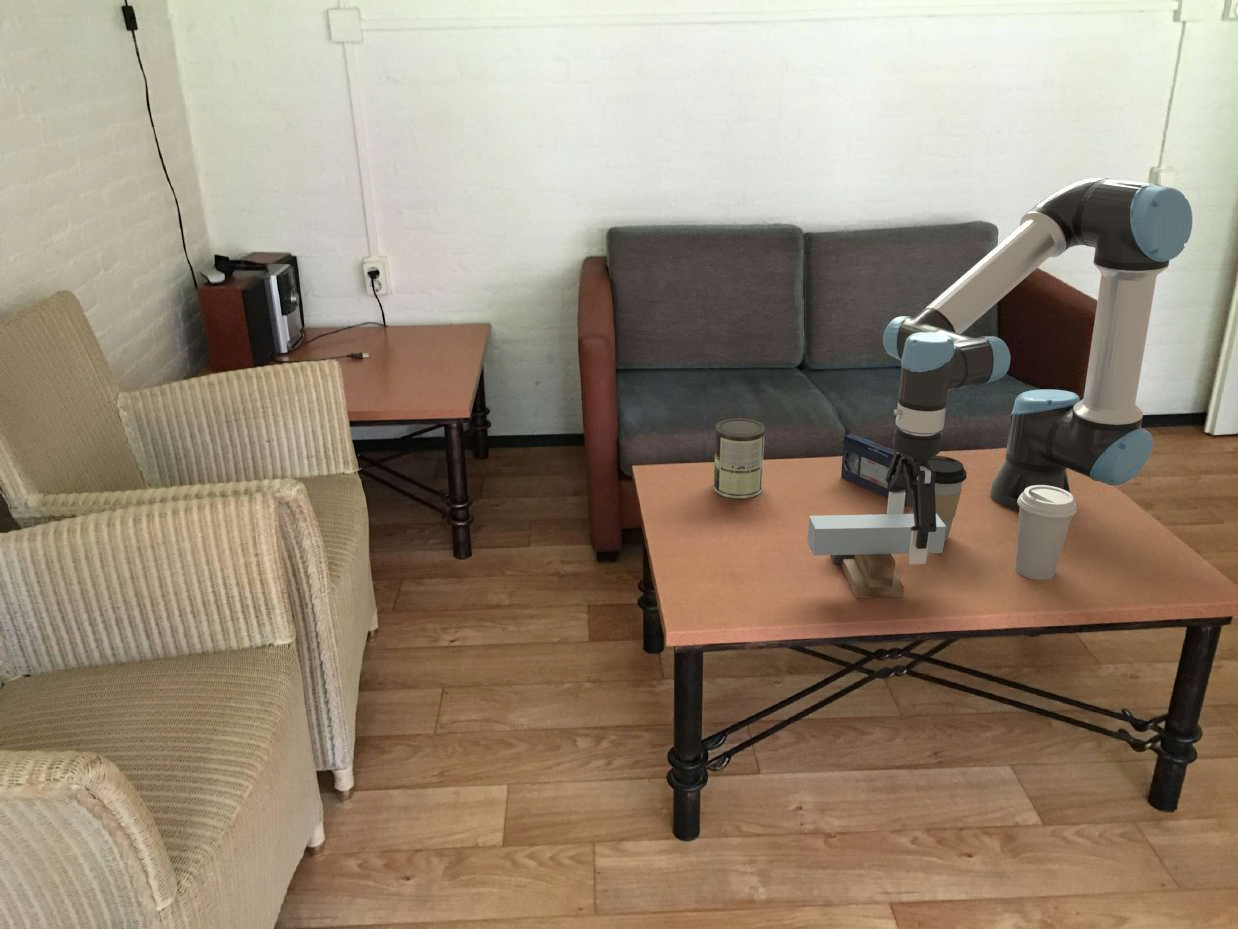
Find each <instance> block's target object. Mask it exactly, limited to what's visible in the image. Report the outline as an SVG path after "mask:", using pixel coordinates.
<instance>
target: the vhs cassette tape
mask: <svg viewBox="0 0 1238 929" xmlns="http://www.w3.org/2000/svg"><path fill="white" fill-rule="evenodd" d="M894 452H895V450H894V448H893V449H892V448H890V447H887V446H884V445H882V444H879V443H877V442H874V441H872V440H870V439H866V438H864V437H861V436H859V435H857V434H854V433H850V434H849V433H848V434H845V435H844V436H843V447H842V458H841V459H842V461H841V470H840V471H841V474H840V477H841V478H842V479H843V480H846V481H848V482H850V483H852V484H854V485H857V486H858V487H860V488H863V489H866V490H867V491H870V492H872V493H874V494H876V495H878V496H881V497H883V498H885V499H888V497H889V492H891V490H889V488H888V485H889V483H886V476H887V473H888V470H889V467H890V464H891V461H892V458H893V455H894ZM893 476H894V475H893ZM907 489H908V488H907ZM901 492H905V493H906V495H905V503H904V508H905V507H909V506H911V505H912V496H911V491H910V490H901ZM912 506H913V505H912Z"/></svg>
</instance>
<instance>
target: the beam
mask: <svg viewBox="0 0 1238 929" xmlns="http://www.w3.org/2000/svg"><path fill="white" fill-rule="evenodd" d="M913 526H915V523H914V514H913V513H903V514H887V513H886V514H884V513H883V514H882V513H881V514H832V515H830V514H829V515H809V517H808V528H807V541H806V542H807V544H808V546H809V549H810V551H811V553H812V555H813V556H830V555H859V554H891V555H898V554H900V555H905V554H906V555H907V554H908V555H909V550H910V542H911V534H912V531H911V527H913ZM936 528H937V529H936V532H930V535H929V542H928V550H927V554H943V552H944V551H943V550H944V545H945V541H944V539H945V531H946V526H945V524H944V523H943V522H942V520H941V519H940V517H939V516H938V515H937V513H936Z"/></svg>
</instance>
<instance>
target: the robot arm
mask: <svg viewBox="0 0 1238 929" xmlns="http://www.w3.org/2000/svg"><path fill="white" fill-rule="evenodd" d="M1192 229H1193V211H1192V207H1191V205H1190V202H1189V200H1188V199H1187V198H1186V197H1185V195H1184V193H1183V192H1181V191H1180V190H1178V189H1176V188H1173V187H1168V186H1165V185H1164V186H1163V185H1162V184H1157V183H1150V182H1141V181H1140V182H1139V181H1132V180H1130V181H1129V180H1122V179H1113V178H1112V179H1111V178H1106V177H1093V178H1086V179H1082V180H1079V181H1076V182H1074V183H1071V184H1069V185H1067V186H1065V187H1063V188H1061V189H1059V190H1057V191H1055V192H1054V193H1052V194H1050V195H1048V196H1047V197H1046V198H1044V199H1042V200H1041V201H1040V202H1038V203H1037V204H1036V205H1034V206H1033V207H1032V208H1030V210H1029V211H1027V212H1026V213H1025V214H1024V215H1023V216H1022V217H1021V219H1020V222H1019V227H1017V228H1016V229H1015V230H1014V231H1013V232H1012V233H1011V234H1009V235H1008V236H1007V237H1006V238H1004V240H1002V241H1001V242H1000V243H999V244H998V245H996V246H995V247H994V248H993V249H992V250H991V251H990V252H988V253H987V254H986V255H985V256H984V257H982V258H981V259H980V260H979V261H978V262H977V263H976V264H975V265H974V266H972V267H971V268H970V269H969V270H968V271H966V272H965V273H964V274H963V275H962V276H960V278H958V279H957V280H956V281H955V282H953V284H951V285H950V286H949V287H948V288H947V289H946V290H944V291H943V292H942V293H941V294H940V295H938V297H936V298H935V299H933V301H932V302H931V303H929V304H928V305H927V306H926V307H925V308H924V309H923V310H921V311H920V312H919V313H917V315H915V317H913V316H906V315H905V316H904V315H901V316H898V317H895V318H893V319H891V321H890V322H889V323H888V324H887V326H886V328H885V329H884V332H883V337H882V344H883V347H884V350H885V352H886V353H887V354H888V355H889V356H890V357H893V358H895V359H896V360H899V361H900V376H899V378H900V379H899V388H898V399H897V400H898V401H897V409H894V410H893V414H894V416H896V418H895V425H896V427H895V428H894V432H893V440H892V447H893V450H895V452H894V455H893V458H892V461H891V464H890V467H889V470H888V473H887V476H886V483H889V485H888V488H889V490H891V492H889V497H888V500H887V507H886V514H904V509H905V506H904V503H905V495H906V493H905V492H901V490H910V491H911V496H912V511H913V513H912V514H914V523H915V526H913V527H911V531H912V534H911V542H910V550H909V554H908V557H907V558H908V560H907V563H908V564H909V565H926V564H927V556H928V553H927V550H928V542H929V535H930V532H936V529H937V528H936V503H935V477H936V472H935V470H930V466H929V464H928V460H929V459H930V458H931V457H933V456H938V454H940V452H941V447H942V439H943V432H942V430H944V427H945V419H946V413H947V403H948V397H949V396H948V395H949V391H954V390H957V389H963V388H967V387H972V386H978V385H987V384H988V383H990V382H991V383H992V382H995V381H998V380H1000V379H1002V378H1003V377H1005V376H1006V374H1007V373H1008V371H1009V368H1010V365H1011V353H1010V350H1009V347H1008V346H1007V343H1006V342H1005V341H1004V340H1003V339H1001V338H1000V337H997V336H993V335H991V336H987V335H986V336H985V335H982V336H979V337H971V336H969V335H968V336H967V335H965V334H962V333H964V332H965V331H966V330H967V329H968V328H969V327H970V326H972V325H973V324H974V323H975V322H976V321H977V320H979V319H980V318H981V317H982V316H983V315H984V314H986V313H987V312H988V311H989V310H990V309H991V308H992V307H994V306H995V305H996V304H997V303H998V302H999V301H1001V300H1002V299H1003V298H1005V296H1006V295H1007V294H1009V293H1010V292H1012V290H1013V289H1014V288H1015V287H1017V286H1018V285H1019V284H1020V283H1021V282H1023V281H1024V279H1026V278H1027V277H1028V276H1030V274H1031V273H1032V272H1034V271H1035V270H1036V269H1038V267H1040V266H1041V265H1042V264H1043V263H1044V262H1045V261H1047V260H1048V259H1049V258H1057V257H1060V256H1061V255H1063V253H1064V252H1066V251H1067V250H1069V249H1070V248H1074V247H1075V246H1076V247H1077V246H1085V247H1090V248H1094V256H1093V265H1094V266H1095V268H1097V270H1098V271H1099V272H1100V273H1101V276H1100V282H1099V288H1098V296H1097V304H1096V310H1095V317H1094V324H1093V330H1092V331H1093V332H1092V336H1091V337H1092V338H1091V345H1090V351H1089V358H1088V365H1087V372H1086V380H1085V385H1084V386H1085V387H1084V393H1083V398H1082V399H1080V396H1079V395H1078V393H1075V392H1073V391H1068V390H1061V389H1051V388H1050V389H1033V390H1027V391H1024V392H1022V393H1020V394H1019V395H1017V396H1016V398H1015V400H1014V405H1013V409H1012V411H1011V418H1010V423H1009V424H1010V425H1009V431H1008V439H1007V445H1006V450H1005V451H1006V453H1005V458H1004V461H1003V463H1002V465H1001V467H1000V469H999V470H998V472H997V474H996V476H995V477H994V480H992V484H991V488H990V497H991V499H992V500H993V502H994V503H996V504H997V505H998V506H1001V507H1003V508H1004V509H1008V510H1010V511H1013V512H1016V513H1019V509H1020V506H1019V505H1018V503H1017V500H1018V498H1019V496H1020V495H1021V494H1022V493H1023V492H1024V490H1025V489H1026V488H1027V487H1030V486H1034V485H1047V486H1053V487H1058V488H1061V489H1063V490H1066V491H1068V492H1069V493H1071V488H1070V483H1069V482H1070V481H1069V476H1068V471H1067V470H1071V471H1073V472H1075V473H1078V474H1080V475H1083V476H1084V477H1087V478H1090V480H1092V481H1094V482H1101V484H1102V483H1103V484H1105V485H1108V486H1120V485H1123V484H1125V483H1127V482H1129V481H1130V480H1131V479H1133V478H1135V477H1136V476H1137V475H1138V473H1140V471H1142V469H1143V468H1144V467H1145V465H1146V464H1147V462H1148V460H1149V458H1150V456H1151V454H1152V452H1153V446H1154V438H1153V436H1152V434H1151V433H1150V432H1149V431H1148V430H1147V429H1146V428H1142V423H1143V417H1144V414H1143V411H1142V409H1141V408H1140V407H1139V406H1138V405H1137V403H1136V402H1137V396H1138V389H1139V383H1140V378H1141V372H1142V365H1143V358H1144V353H1145V348H1146V347H1145V346H1146V342H1147V336H1148V331H1149V330H1148V329H1149V325H1150V318H1151V312H1152V306H1153V300H1154V294H1155V289H1156V288H1155V287H1156V282H1157V278H1158V275H1160V274H1162V273H1163V271H1165V270H1166V269H1168V268H1169V265H1170V261H1172V260H1173V259H1175V258H1177V257H1178V256H1179V255H1180V254H1182V252H1183V250H1184V249H1185V244H1187V243H1188V242H1189V240H1190V238H1191V233H1192ZM893 475H894V476H893ZM907 488H908V489H907ZM1071 494H1072V493H1071Z"/></svg>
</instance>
